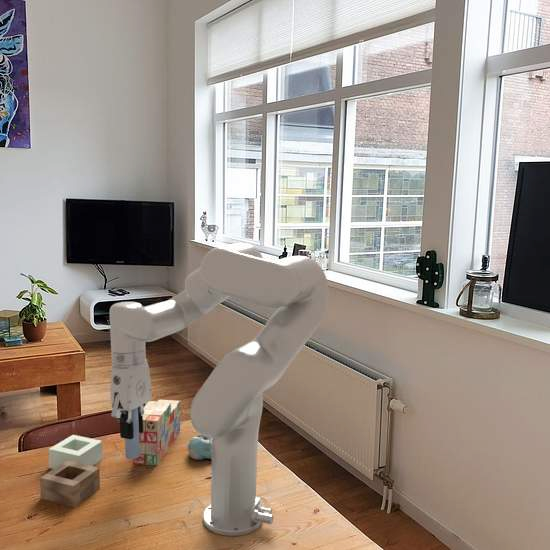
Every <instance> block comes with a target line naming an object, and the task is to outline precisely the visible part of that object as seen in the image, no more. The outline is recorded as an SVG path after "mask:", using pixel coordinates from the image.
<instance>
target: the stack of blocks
mask: <svg viewBox="0 0 550 550" xmlns="http://www.w3.org/2000/svg"><path fill="white" fill-rule="evenodd" d="M180 401H181V400H173V399H158V400H155V401H152V400H149V401H147V402H146V403H145V406H144V414H143V415H141V416H143V432H142V433H139V445H140V456H139V457H138V458H135V459H133V464H134V465H142V466H155V467H157V466H158V465H159V464H160V462H161V461H162V460H163V458H164V456H165V455H166V454H167V452H168V450H169V448H171V445H172V444H171V443H173V442H174V440H175V439H176V438H177V437H178V435H179V434H180V432H181V411H180V410H181V405H180V404H181V403H180ZM179 431H180V432H179Z"/></svg>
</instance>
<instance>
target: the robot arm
mask: <svg viewBox="0 0 550 550" xmlns="http://www.w3.org/2000/svg"><path fill="white" fill-rule="evenodd" d="M184 288H185V289H183V290H181V291H180V292H179V293H177V294H176V295H174V296H173V297H171V298H169V299H168V300H165V301H164V300H163V301H160V302H156V303H152V304H149V305H146V306H144V305H142V304H141V303H140V302H136V301H121V302H116V303H113V304H112V305H111V306H110V308H109V329H110V332H109V333H110V351H111V352H110V355H111V371H110V372H111V373H110V386H109V388H110V391H109V393H110V396H109V397H110V405H111V409H112V411H111V415H110V417H112V418H116V419H117V422H119V433H120V434H119V436H120V438H121V439H124V440H125V439H133V438H134V431H133V422H131V411H133V410H134V409H136V408H138V420H139V433H142V432H143V416H141V415H143V414H144V407H145V406H146V404H147V403H148V402H149V401H151V399H152V383H151V382H152V381H151V373H150V365H149V363H148V359H147V356H146V355H147V353H146V350H147V349H146V343H147V342H149V343H150V342H154V341H157V340H160V339H161V338H165V337H168V336H170V335H173V334H175V333H179V332H180V331H183V330H184V329H186V328H187V327H189V326H191V325H192V324H193V323H195V322H197V321H198V320H200V319H201V318H203V317H205V316H206V315H207V314H208V313H209V312H211V311H212V309H214V308H215V307H217V306H218V305H220V304H222V303H223V302H224V301H226V300H227V299H229V298H230V297H231V298H235V299H238V300H241V301H245V302H248V303H251V304H255V305H258V306H261V307H265V308H272V309H273V308H276V309H277V310H275V312H274V313H273V314H272V315H271V316H270V317H269V318H268V320H267V322H266V323H265V324H264V326H263V327H262V329H261V330H259V332H258V333H257V335H256V336H255V337H254V338H253V339H252V340H251V341H250V342H248V343H245V344H244V345H242V346H240V347H237V348H235V349H234V350H232V351H230V352H229V353H227V354H226V355H225V356H224V357H223V358H222V359H221V360H220V361H219V362H218V363H217V365H216V366H215V367H214V369H212V372H211V373H210V375H209V376H208V377H207V379H206V380H204V381H205V382H203V384H202V385H201V387H200V388H199V390H198V391H197V392H196V393H195V396H194V397H193V399H192V401H191V404H190V409H189V410H190V411H189V417H190V422H191V425H192V426H193V428H194V430H195V431H196V432H197V433H198V434H199V435H203V436H205V437H208V438H211V440H212V450H211V453H212V459H211V469H210V470H211V473H210V474H211V479H210V482H211V483H210V484H211V485H210V486H211V487H210V505H209V506H207V507H206V508H205V510H204V511H203V513H202V514H203V517H202V520H203V524H204V526H205V527H206V528H207V529H209V530H210V531H212V532H213V533H215V534H219V535H222V536H229V537H234V536H235V537H236V536H243V535H247V534H250V533H251V532H254V531H255V530H257V529H258V528H259V527H260V526H261V524H268V525H272V524H273V523H274V522H273V521H274V514H272V512H273V510H272V508H271V507H263V505H261V497H257V476H258V475H257V473H258V472H257V471H258V467H257V466H258V450H259V447H258V446H259V445H258V444H259V433H260V432H259V431H260V425H261V424H260V423H261V418H262V413H263V408H264V407H263V405H264V396H263V395H264V394H263V392H265V391H267V390H268V389H269V388H271V387H272V386H274V385H275V384H276V383H277V382H278V381H279V380H280V379H281V378H282V377H283V375H284V373H285V372H286V370H287V369H288V368H289V366H290V365H291V363H292V362H293V361H294V360H295V359H296V357H297V356H298V354H300V352H301V350H302V349H303V347H304V346H305V345H306V343H307V342H308V341H309V339H311V337H312V335H313V334H314V333H315V332H316V330H317V329H318V328H319V326H320V324H321V322H322V320H323V318H324V316H325V313H326V310H327V309H328V304H329V297H330V289H329V282H328V279H327V276H326V274H325V272H324V269H323V268H322V267H321V265H320V264H319V263H318V262H317V260H314V259H312V258H311V257H308V256H305V255H291V256H286V257H282V258H280V259H279V258H278V259H275V260H270V259H264V258H263V255H262V253H261V251H260V250H259V249H257V248H256V247H255V246H254V245H252V244H249V243H244V242H237V243H231V244H226V245H219V246H216V247H213V248H211V249H210V250H208V251H207V252H206V253H205V254H204V255H203V258H202V260H201V262H200V267H198V268H196V269H195V270H194V271H192V272H191V273H190V274H188V275H187V276H186V278H185V281H184ZM124 412H126V415H125V414H124Z"/></svg>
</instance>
